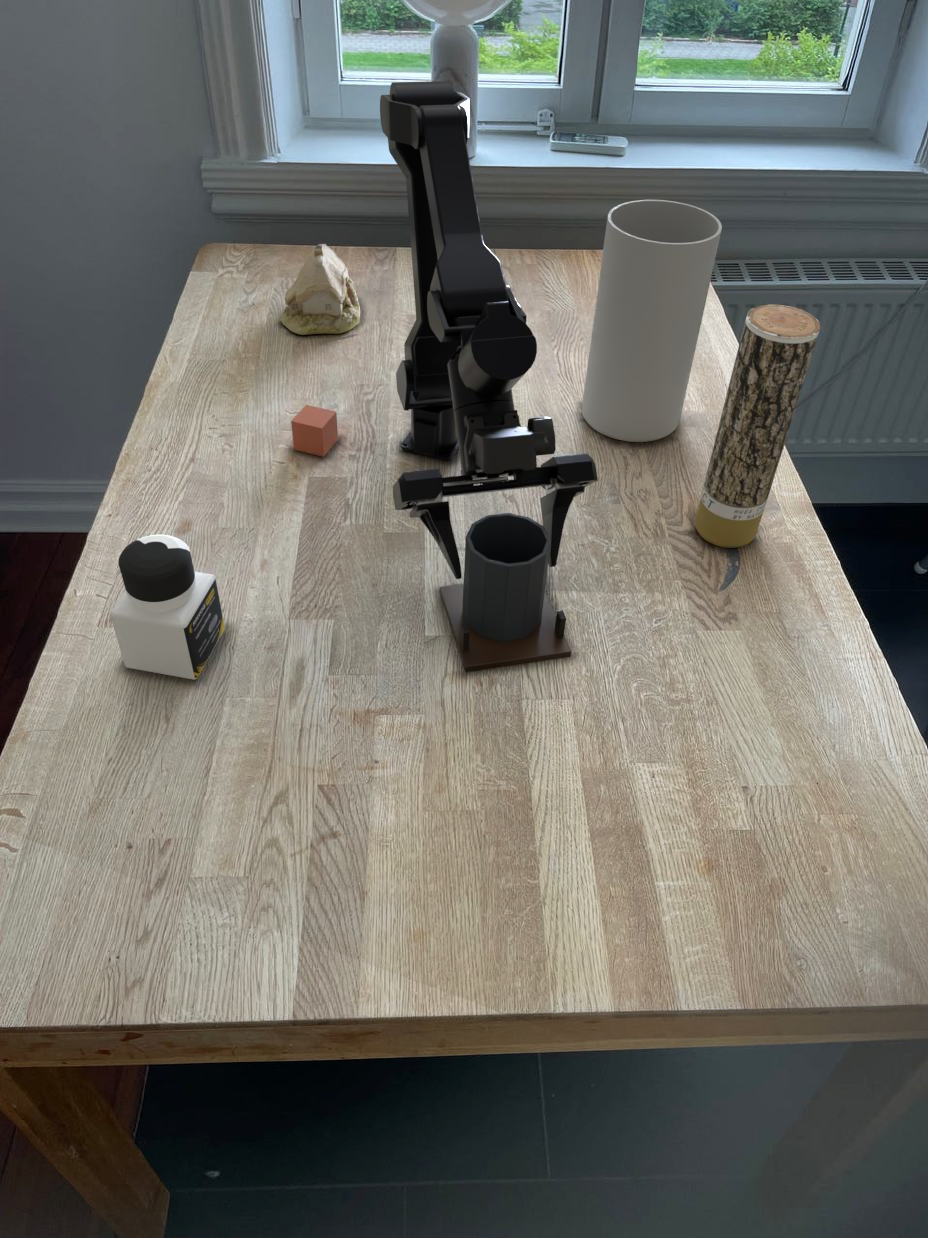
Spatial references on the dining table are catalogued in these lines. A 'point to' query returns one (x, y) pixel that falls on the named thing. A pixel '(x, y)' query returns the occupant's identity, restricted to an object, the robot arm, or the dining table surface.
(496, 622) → the bin
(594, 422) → the cylinder vase
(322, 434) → the block
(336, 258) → the ceramic model
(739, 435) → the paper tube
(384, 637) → the dining table surface
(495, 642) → the brown pegged stand
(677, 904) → the dining table surface
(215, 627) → the medicine bottle
